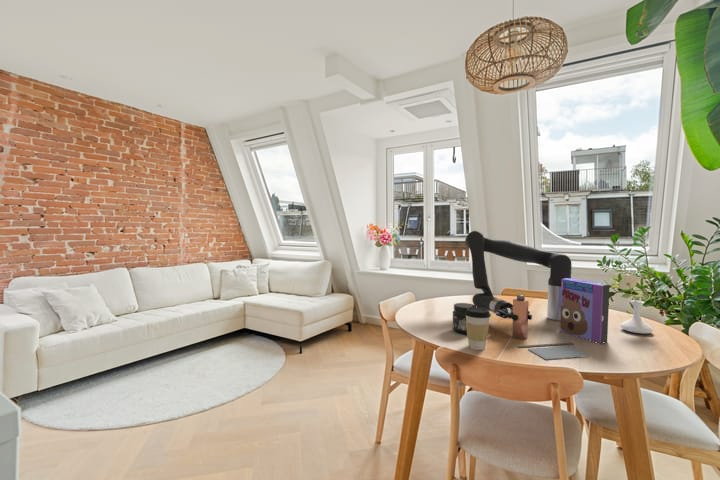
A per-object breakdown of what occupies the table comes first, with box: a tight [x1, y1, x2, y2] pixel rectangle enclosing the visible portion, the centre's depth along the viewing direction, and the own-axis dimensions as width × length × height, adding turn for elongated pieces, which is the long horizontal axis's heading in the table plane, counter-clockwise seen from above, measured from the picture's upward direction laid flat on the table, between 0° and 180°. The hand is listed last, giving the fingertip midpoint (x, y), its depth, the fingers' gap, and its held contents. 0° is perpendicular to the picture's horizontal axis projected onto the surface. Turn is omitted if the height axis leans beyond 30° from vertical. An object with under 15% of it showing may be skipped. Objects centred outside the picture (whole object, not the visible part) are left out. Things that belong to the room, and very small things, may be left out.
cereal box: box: [559, 278, 610, 344], centre depth 149 cm, size 17×5×24 cm, turn 23°
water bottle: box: [511, 294, 529, 340], centre depth 149 cm, size 6×6×18 cm
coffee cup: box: [464, 307, 492, 351], centre depth 137 cm, size 10×10×15 cm
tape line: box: [516, 342, 574, 349], centre depth 139 cm, size 24×1×1 cm, turn 99°
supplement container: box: [452, 302, 476, 336], centre depth 156 cm, size 10×10×12 cm
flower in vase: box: [617, 275, 654, 335], centre depth 156 cm, size 13×11×25 cm
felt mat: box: [527, 345, 590, 361], centre depth 131 cm, size 18×10×1 cm, turn 99°
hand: (523, 317), depth 146 cm, fingers closed on water bottle, 6 cm apart
